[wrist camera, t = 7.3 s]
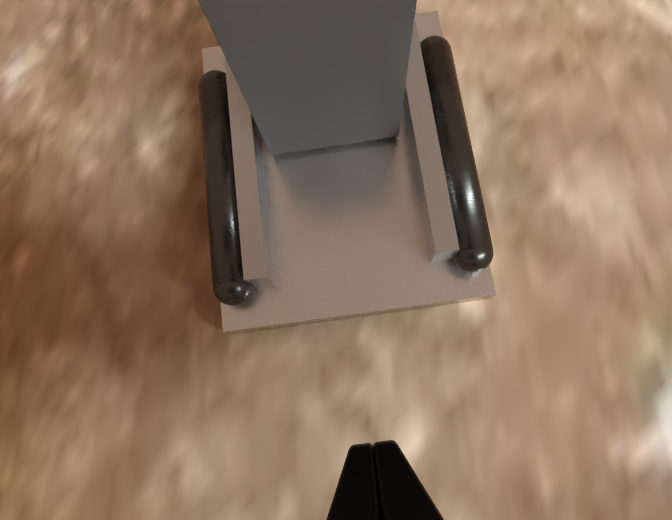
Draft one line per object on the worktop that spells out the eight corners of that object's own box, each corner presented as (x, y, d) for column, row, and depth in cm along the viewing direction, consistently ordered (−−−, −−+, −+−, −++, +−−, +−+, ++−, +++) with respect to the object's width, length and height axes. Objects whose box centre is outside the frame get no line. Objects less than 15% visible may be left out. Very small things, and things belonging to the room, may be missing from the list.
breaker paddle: (398, 136, 18) (425, -62, 10) (271, 155, 18) (187, -24, 10) (383, 46, 19) (395, -207, 11) (261, 65, 19) (177, -169, 11)
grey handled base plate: (488, 298, 18) (562, 258, 11) (230, 333, 18) (148, 315, 12) (434, 27, 21) (466, -139, 14) (209, 63, 21) (132, -82, 14)
